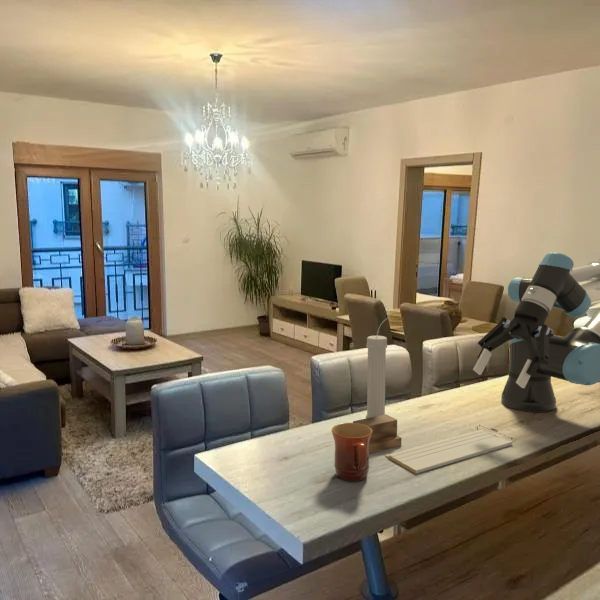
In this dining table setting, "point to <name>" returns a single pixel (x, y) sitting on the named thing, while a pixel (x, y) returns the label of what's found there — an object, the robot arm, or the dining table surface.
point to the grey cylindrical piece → (376, 375)
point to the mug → (351, 450)
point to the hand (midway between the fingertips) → (497, 378)
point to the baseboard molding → (448, 450)
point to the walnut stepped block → (382, 432)
